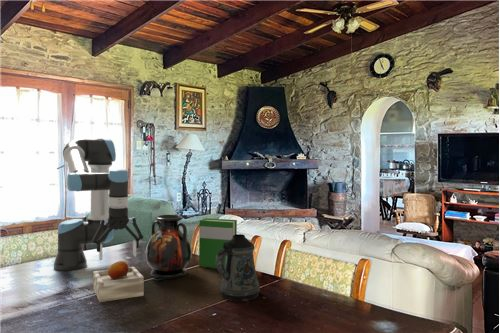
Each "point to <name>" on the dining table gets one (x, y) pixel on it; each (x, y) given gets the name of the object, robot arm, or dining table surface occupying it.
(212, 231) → the hardback book
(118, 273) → the fruit
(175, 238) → the amphora vase
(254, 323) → the dining table surface
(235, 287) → the beer stein
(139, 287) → the square tray
